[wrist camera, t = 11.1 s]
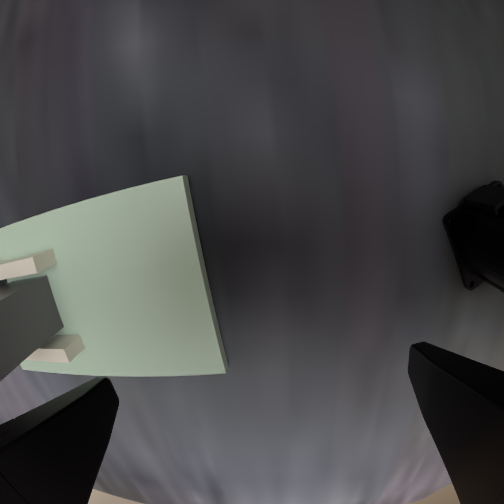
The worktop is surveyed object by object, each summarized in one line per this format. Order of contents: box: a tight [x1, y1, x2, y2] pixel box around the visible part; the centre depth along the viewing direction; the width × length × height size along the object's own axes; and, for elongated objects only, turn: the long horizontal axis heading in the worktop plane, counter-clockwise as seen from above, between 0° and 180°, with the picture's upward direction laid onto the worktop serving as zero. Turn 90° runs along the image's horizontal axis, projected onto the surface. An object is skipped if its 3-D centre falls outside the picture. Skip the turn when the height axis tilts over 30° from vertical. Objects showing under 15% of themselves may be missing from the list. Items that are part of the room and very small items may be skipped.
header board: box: [0, 175, 228, 377], centre depth 20 cm, size 22×14×5 cm, turn 100°
